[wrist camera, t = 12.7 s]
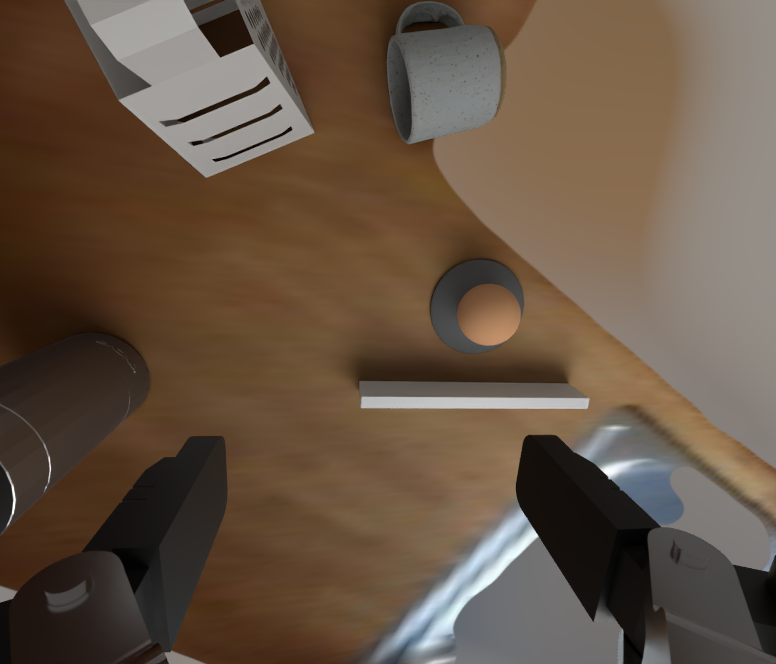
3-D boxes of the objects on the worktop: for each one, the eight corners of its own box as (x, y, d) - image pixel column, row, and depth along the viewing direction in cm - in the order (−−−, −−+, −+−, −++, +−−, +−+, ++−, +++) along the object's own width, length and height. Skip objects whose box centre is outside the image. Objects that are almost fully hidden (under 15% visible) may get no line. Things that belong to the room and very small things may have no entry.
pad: (469, 370, 43) (470, 371, 43) (411, 304, 41) (411, 305, 40) (540, 309, 42) (541, 310, 42) (485, 238, 40) (486, 238, 39)
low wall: (359, 391, 42) (361, 408, 39) (359, 380, 42) (361, 396, 38) (566, 393, 46) (587, 408, 42) (568, 383, 45) (589, 398, 41)
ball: (472, 346, 42) (494, 366, 37) (438, 306, 41) (454, 320, 35) (516, 309, 42) (544, 323, 36) (483, 267, 40) (507, 275, 34)
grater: (260, 0, 32) (145, -325, 13) (314, 132, 35) (286, 25, 16) (141, 49, 32) (-149, -205, 13) (206, 177, 35) (48, 124, 16)
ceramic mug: (484, 132, 37) (520, 107, 30) (400, 152, 37) (415, 133, 29) (463, 1, 34) (497, -63, 27) (371, 21, 34) (381, -38, 26)
